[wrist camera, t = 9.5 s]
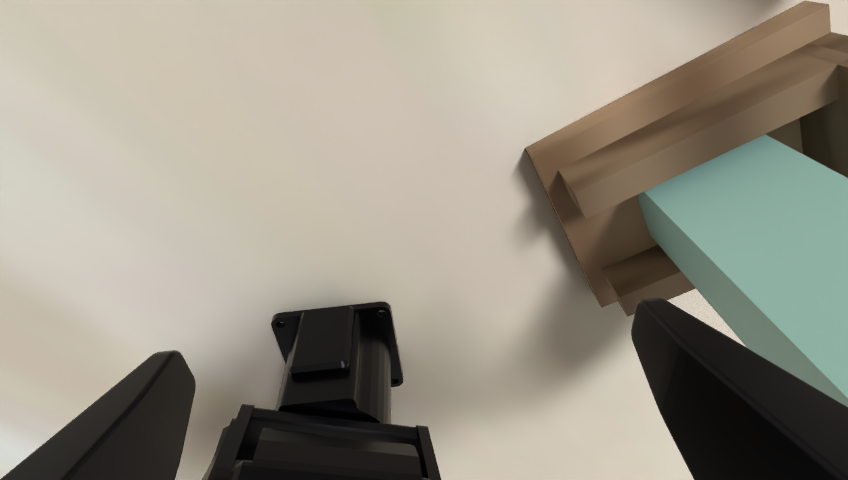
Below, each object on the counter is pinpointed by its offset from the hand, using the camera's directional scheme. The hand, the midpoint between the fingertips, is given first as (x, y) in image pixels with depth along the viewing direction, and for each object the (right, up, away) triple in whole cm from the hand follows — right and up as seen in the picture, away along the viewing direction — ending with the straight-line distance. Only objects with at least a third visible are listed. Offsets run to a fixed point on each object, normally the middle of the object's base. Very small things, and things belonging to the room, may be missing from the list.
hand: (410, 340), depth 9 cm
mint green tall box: (+13, +5, +12) cm, 18 cm away
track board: (+13, +5, +13) cm, 19 cm away
